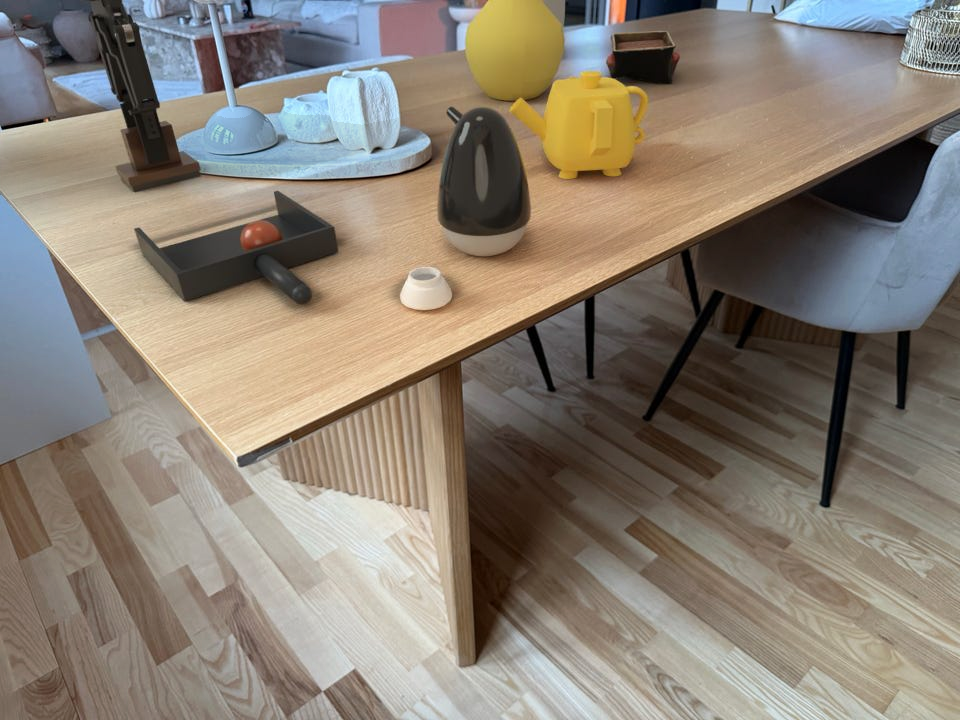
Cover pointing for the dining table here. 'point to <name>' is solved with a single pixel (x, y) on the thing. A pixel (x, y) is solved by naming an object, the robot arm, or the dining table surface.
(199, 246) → the dustpan
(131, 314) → the dining table surface
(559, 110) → the teapot
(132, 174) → the stepped wooden pedestal
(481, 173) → the black soy sauce dispenser
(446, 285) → the white jar
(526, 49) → the vase
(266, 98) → the dining table surface
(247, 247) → the bead
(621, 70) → the black rectangular planter
